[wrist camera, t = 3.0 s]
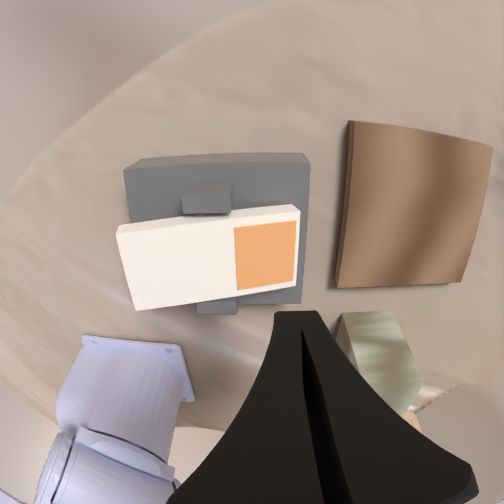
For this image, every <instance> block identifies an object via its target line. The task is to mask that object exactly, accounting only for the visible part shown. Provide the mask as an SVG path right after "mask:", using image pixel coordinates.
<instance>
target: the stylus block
mask: <svg viewBox="0 0 504 504" xmlns="http://www.w3.org/2000/svg"><path fill="white" fill-rule="evenodd" d="M336 342H337V343H338V345H339V346H340V348H341V349H342V351H343V352H344V353H345V355H346V356H347V357H348V359H349V360H350V362H351V363H352V364H353V365H354V367H355V368H356V369H357V371H358V372H359V373H360V374H361V375H362V377H363V378H364V379H365V380H366V381H367V383H368V384H369V385H370V386H371V387H372V388H373V389H374V390H375V392H376V393H377V394H378V395H379V396H380V397H381V398H382V399H383V400H384V401H385V402H386V403H387V404H388V405H389V406H390V407H391V408H392V409H393V410H394V411H395V412H396V413H398V414H399V415H400V416H403V415H404V413H405V412H406V410H407V409H408V407H409V406H410V404H411V403H412V401H413V400H414V398H415V397H416V395H417V393H418V392H419V390H420V389H421V387H422V385H423V384H424V379H423V377H422V375H421V372H420V370H419V368H418V365H417V363H416V361H415V359H414V357H413V354H412V352H411V350H410V348H409V346H408V344H407V341H406V339H405V337H404V335H403V333H402V331H401V329H400V327H399V325H398V323H397V321H396V319H395V317H394V315H393V313H392V311H391V310H387V311H372V312H354V313H342V314H341V319H340V323H339V328H338V332H337V337H336Z"/></svg>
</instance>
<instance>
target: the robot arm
mask: <svg viewBox="0 0 504 504" xmlns="http://www.w3.org/2000/svg"><path fill="white" fill-rule="evenodd" d="M81 341H82V343H83V345H84V346H83V347H82V349H81V351H80V353H79V355H78V356H77V358H76V360H75V362H74V364H73V366H72V367H71V369H70V371H69V373H68V375H67V377H66V379H65V381H64V383H63V385H62V387H61V389H60V391H59V393H58V397H57V401H56V419H57V423H58V425H59V428H60V429H61V431H62V432H61V433H58V434H57V436H56V438H55V440H54V443H53V445H52V447H51V450H50V452H49V455H48V457H47V460H46V463H45V465H44V468H43V471H42V473H41V476H40V479H39V482H38V485H37V489H36V490H37V493H36V497H35V500H34V504H464V503H466V502H468V501H469V500H471V499H473V498H474V497H476V496H477V495H478V493H479V490H478V486H477V482H476V478H475V475H474V473H473V470H472V468H471V465H470V464H469V463H467V462H465V461H463V460H461V459H460V458H458V457H456V456H455V455H453V454H451V453H449V452H448V451H445V450H444V449H443V448H441V447H440V446H438V445H436V444H435V443H434V442H432V441H431V440H430V439H428V438H427V437H425V436H424V435H423V434H422V433H420V432H419V431H418V430H417V429H415V428H414V427H413V426H412V425H411V424H409V423H408V422H407V421H406V420H404V419H403V418H402V417H401V416H400V415H399V414H398V413H396V412H395V411H394V410H393V409H392V408H391V407H390V406H389V405H388V404H387V403H386V402H385V401H384V400H383V399H382V398H381V397H380V396H379V395H378V394H377V393H376V392H375V390H374V389H373V388H372V387H371V386H370V385H369V384H368V383H367V381H366V380H365V379H364V378H363V377H362V375H361V374H360V373H359V372H358V371H357V369H356V368H355V367H354V365H353V364H352V363H351V362H350V360H349V359H348V357H347V356H346V355H345V353H344V352H343V351H342V349H341V348H340V346H339V345H338V343H337V342H336V341H335V339H334V338H333V336H332V334H331V333H330V331H329V330H328V328H327V327H326V325H325V323H324V322H323V320H322V318H321V316H320V315H319V313H318V312H317V311H278V312H276V313H275V314H274V326H273V331H272V335H271V339H270V343H269V346H268V349H267V352H266V355H265V358H264V361H263V363H262V366H261V368H260V370H259V373H258V375H257V377H256V380H255V382H254V384H253V386H252V388H251V390H250V392H249V394H248V396H247V398H246V400H245V402H244V403H243V405H242V407H241V409H240V410H239V412H238V414H237V415H236V417H235V418H234V420H233V422H232V423H231V425H230V426H229V428H228V429H227V431H226V432H225V434H224V435H223V436H222V438H221V439H220V441H219V442H218V443H217V445H216V446H215V447H214V448H213V450H212V451H211V452H210V453H209V455H208V456H207V457H206V458H205V460H204V461H203V462H202V463H201V464H200V466H199V467H198V468H197V469H196V470H195V471H194V472H193V473H192V474H191V475H190V477H188V479H187V480H186V481H185V482H184V483H183V484H182V485H181V483H180V482H179V481H178V480H177V479H175V478H173V477H174V471H175V468H174V467H171V466H169V465H167V463H168V457H169V453H170V448H171V443H172V438H173V433H174V428H175V423H176V419H177V414H178V409H179V405H180V401H184V402H193V401H194V400H195V396H194V392H193V389H192V385H191V382H190V378H189V375H188V371H187V367H186V364H185V360H184V356H183V352H182V349H181V347H180V346H179V345H176V344H166V343H153V342H142V341H132V340H123V339H114V338H106V337H98V336H91V335H82V337H81ZM169 349H170V350H169ZM0 504H26V503H24V502H22V501H20V500H18V499H17V498H15V497H13V496H12V495H10V494H9V493H7V492H6V491H4V490H2V489H1V488H0ZM496 504H504V499H502V500H501V501H499V502H498V503H496Z"/></svg>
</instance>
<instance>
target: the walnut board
mask: <svg viewBox="0 0 504 504" xmlns="http://www.w3.org/2000/svg"><path fill="white" fill-rule="evenodd" d="M492 151H493V147H490V146H487V145H485V144H481V143H477V142H474V141H470V140H466V139H461V138H457V137H453V136H448V135H444V134H439V133H434V132H429V131H424V130H418V129H412V128H406V127H400V126H393V125H386V124H378V123H370V122H361V121H351V120H349V136H348V154H347V169H346V182H345V194H344V204H343V214H342V223H341V232H340V240H339V248H338V256H337V263H336V270H335V277H334V280H335V283H336V285H337V288H347V287H377V286H401V285H421V284H438V283H454V282H461V280H462V277H463V274H464V271H465V268H466V265H467V262H468V259H469V256H470V253H471V249H472V246H473V243H474V239H475V236H476V232H477V228H478V224H479V220H480V216H481V212H482V208H483V203H484V199H485V194H486V189H487V183H488V178H489V172H490V165H491V158H492Z"/></svg>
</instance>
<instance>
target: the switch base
mask: <svg viewBox="0 0 504 504" xmlns="http://www.w3.org/2000/svg"><path fill="white" fill-rule="evenodd" d="M123 172H124V180H125V186H126V193H127V199H128V205H129V211H130V217H131V222H132V223H138V222H145V221H152V220H159V219H166V218H173V217H181V216H188V215H196V214H204V213H231V210H238V209H247V208H256V207H266V206H276V205H287V204H293V205H294V206H295V207H296V208H297V209H298V210H300V229H299V246H298V262H297V276H296V286H292V287H287V288H281V289H276V290H270V291H264V292H258V293H253V294H247V295H241V296H235V297H228V298H222V299H216V300H209V301H203V302H196V308H197V314H230V315H237V305H238V304H301V296H302V285H303V274H304V262H305V249H306V235H307V219H308V202H309V181H310V162H309V160H308V159H307V158H306V157H305V156H304V154H303V153H231V154H206V155H188V156H174V157H162V158H151V159H141V160H139V161H138V162H136V163H134V164H132V165H131V166H129V167H127V168H125V169H124V170H123Z"/></svg>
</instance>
